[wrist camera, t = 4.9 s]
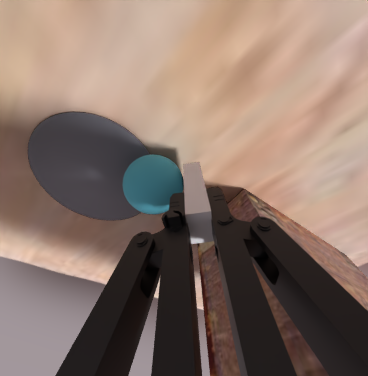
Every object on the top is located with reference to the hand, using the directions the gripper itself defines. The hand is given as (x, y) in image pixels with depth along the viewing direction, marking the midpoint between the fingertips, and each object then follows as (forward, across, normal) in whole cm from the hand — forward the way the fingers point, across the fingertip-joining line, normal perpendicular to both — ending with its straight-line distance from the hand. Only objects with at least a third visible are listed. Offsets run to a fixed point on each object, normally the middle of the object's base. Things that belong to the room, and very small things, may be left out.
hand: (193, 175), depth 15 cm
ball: (-1, -4, 0) cm, 4 cm away
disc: (+2, -10, 0) cm, 11 cm away
